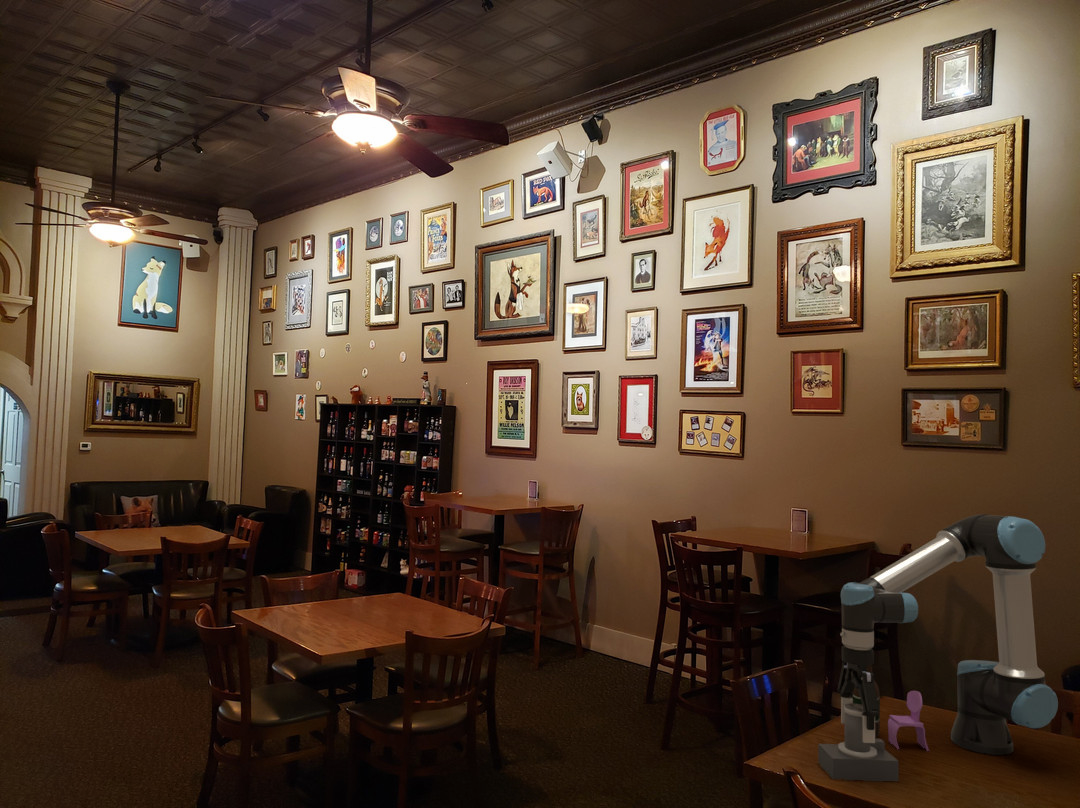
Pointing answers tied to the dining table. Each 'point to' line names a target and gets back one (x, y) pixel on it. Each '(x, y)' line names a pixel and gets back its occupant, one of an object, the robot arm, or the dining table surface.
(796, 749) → the dining table surface
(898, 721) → the toy chair
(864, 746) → the lens
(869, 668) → the beer bottle
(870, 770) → the camera body block
